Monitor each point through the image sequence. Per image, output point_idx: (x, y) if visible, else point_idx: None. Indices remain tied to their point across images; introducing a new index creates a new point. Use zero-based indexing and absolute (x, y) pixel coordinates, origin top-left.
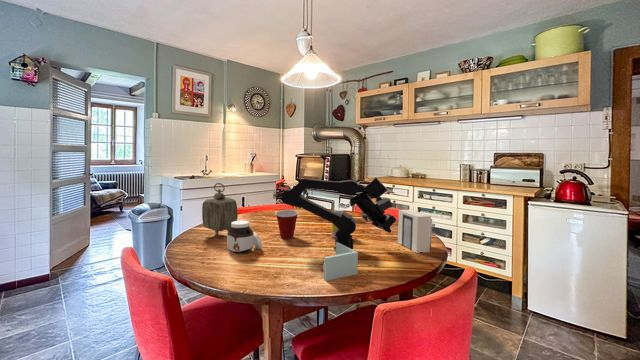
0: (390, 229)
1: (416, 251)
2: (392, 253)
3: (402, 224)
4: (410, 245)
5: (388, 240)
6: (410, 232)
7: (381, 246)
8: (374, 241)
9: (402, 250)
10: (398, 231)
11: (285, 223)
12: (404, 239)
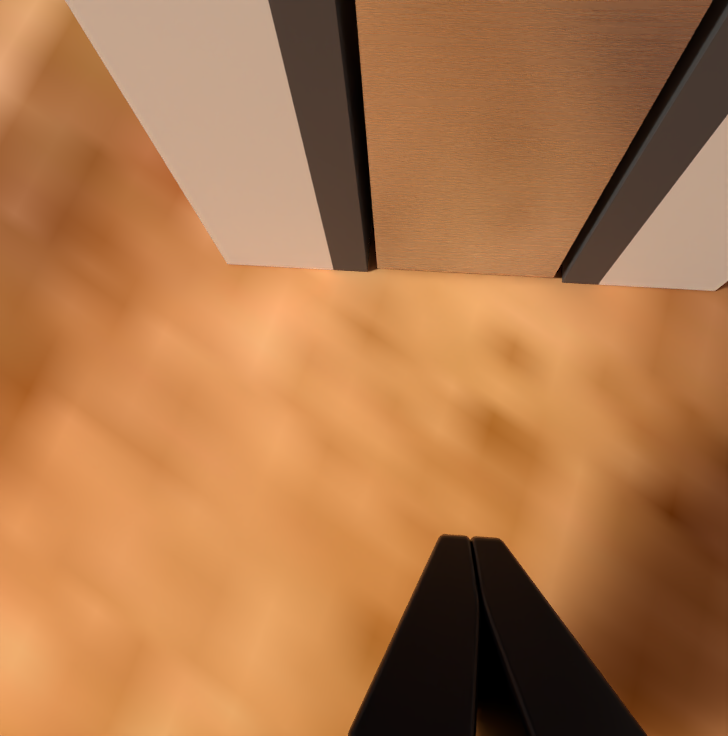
0: (533, 593)
1: (726, 279)
2: (654, 647)
3: (274, 7)
4: (568, 248)
5: (71, 322)
6: (646, 107)
7: (280, 609)
8: (8, 567)
9: (557, 403)
10: (173, 157)
11: None
12: (401, 219)
